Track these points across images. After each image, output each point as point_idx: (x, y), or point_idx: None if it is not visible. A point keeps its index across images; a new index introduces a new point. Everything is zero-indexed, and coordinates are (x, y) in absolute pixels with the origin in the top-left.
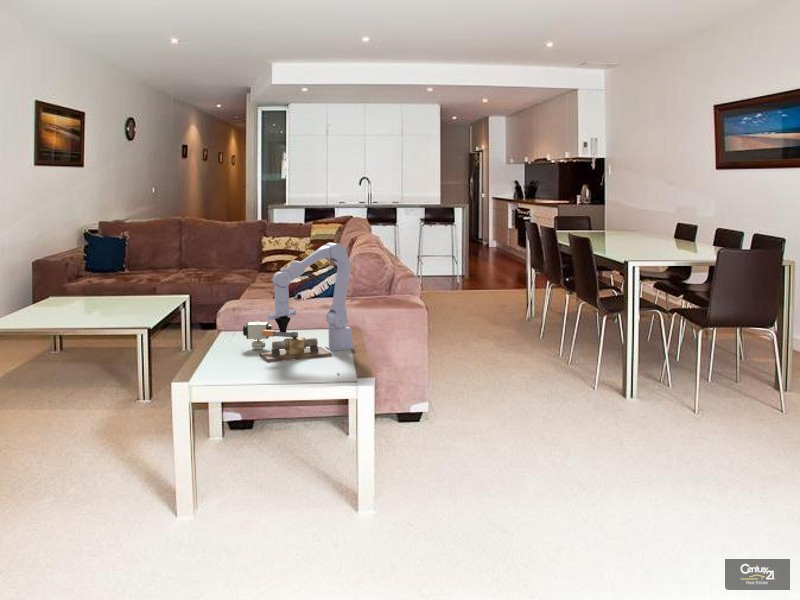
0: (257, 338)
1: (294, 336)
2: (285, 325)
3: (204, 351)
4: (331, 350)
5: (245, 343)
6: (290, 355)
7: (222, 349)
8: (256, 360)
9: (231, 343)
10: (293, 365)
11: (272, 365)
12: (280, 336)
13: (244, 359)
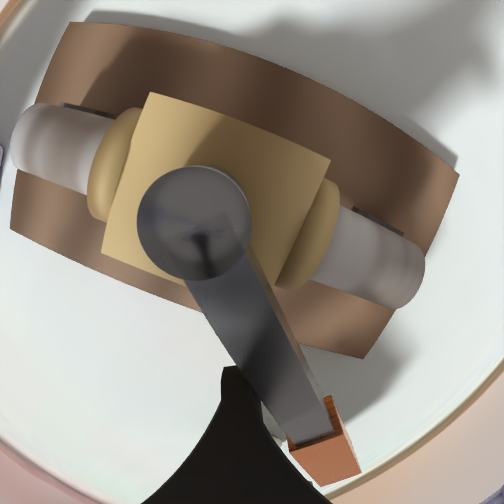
0: None
1: (233, 177)
2: (246, 449)
3: (389, 463)
4: (2, 150)
5: None
6: (311, 132)
7: None
8: (447, 256)
9: None
10: (399, 5)
11: (467, 98)
12: (303, 355)
13: (451, 313)
